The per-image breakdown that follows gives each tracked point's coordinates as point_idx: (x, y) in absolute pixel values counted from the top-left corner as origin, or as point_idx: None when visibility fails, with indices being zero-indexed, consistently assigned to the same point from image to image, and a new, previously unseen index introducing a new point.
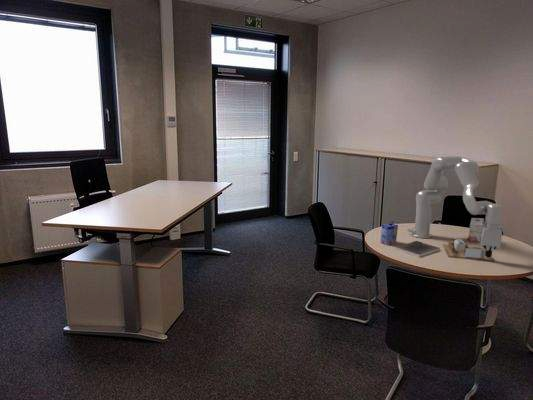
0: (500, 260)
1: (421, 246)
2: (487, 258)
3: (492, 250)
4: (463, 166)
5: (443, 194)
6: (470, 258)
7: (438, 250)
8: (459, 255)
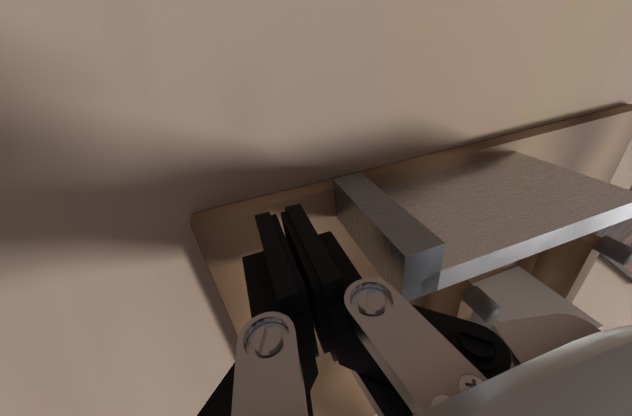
0: (117, 296)
1: None
2: None
3: (256, 334)
4: None
5: None
6: (462, 150)
7: (606, 228)
8: None
